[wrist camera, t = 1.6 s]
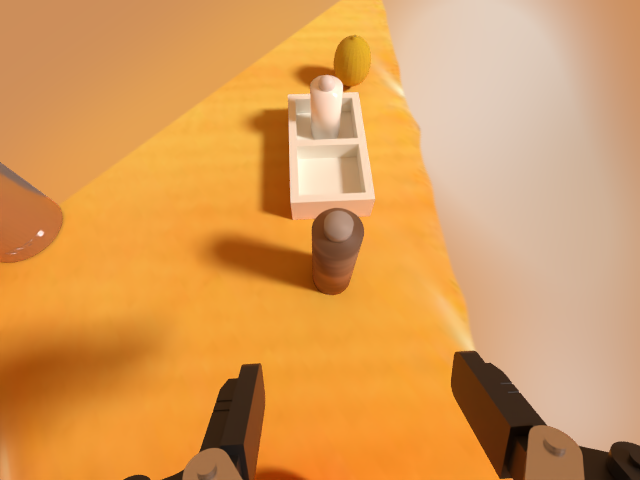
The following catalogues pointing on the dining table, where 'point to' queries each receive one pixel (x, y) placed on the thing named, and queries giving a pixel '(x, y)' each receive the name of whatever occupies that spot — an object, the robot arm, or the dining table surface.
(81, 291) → the dining table surface
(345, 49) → the lemon
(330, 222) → the pepper mill
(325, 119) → the salt shaker
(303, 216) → the caddy
